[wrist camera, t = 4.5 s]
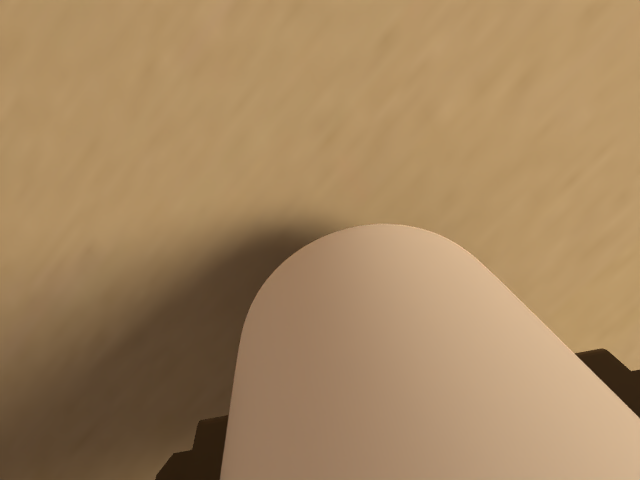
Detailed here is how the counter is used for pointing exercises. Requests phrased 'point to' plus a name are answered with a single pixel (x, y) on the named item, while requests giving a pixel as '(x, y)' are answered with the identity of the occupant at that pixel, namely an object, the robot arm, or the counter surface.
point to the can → (412, 374)
